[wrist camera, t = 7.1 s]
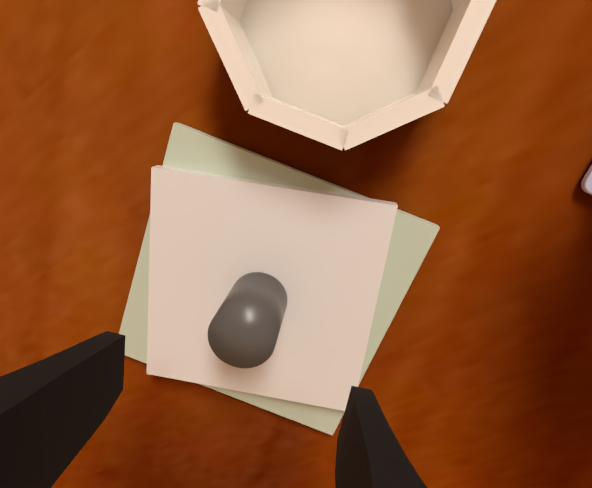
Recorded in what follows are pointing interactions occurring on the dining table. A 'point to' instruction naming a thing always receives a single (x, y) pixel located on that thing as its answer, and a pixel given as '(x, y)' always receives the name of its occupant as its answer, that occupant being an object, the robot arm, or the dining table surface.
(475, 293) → the dining table surface
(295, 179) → the mat
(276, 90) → the bowl
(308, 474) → the dining table surface
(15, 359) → the dining table surface
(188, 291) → the cover
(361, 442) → the robot arm
